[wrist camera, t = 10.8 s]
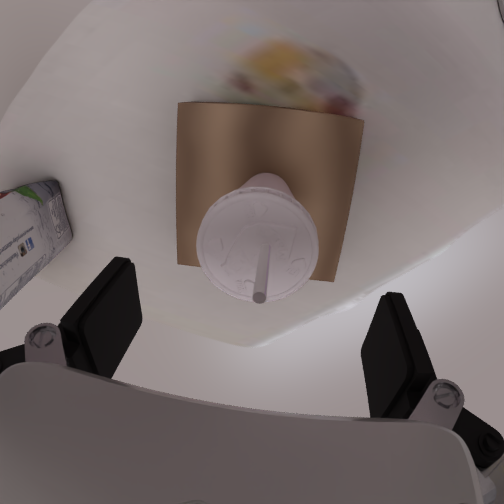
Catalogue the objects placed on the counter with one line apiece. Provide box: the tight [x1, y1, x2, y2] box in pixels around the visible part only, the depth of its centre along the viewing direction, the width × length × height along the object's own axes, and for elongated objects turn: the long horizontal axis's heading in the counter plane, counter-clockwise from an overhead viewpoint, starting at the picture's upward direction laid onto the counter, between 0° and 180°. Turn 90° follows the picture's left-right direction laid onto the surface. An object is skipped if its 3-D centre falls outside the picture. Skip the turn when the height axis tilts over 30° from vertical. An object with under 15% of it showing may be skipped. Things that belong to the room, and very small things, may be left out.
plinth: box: [176, 102, 364, 282], centre depth 27 cm, size 14×14×4 cm
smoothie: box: [196, 173, 319, 304], centre depth 19 cm, size 6×6×14 cm
